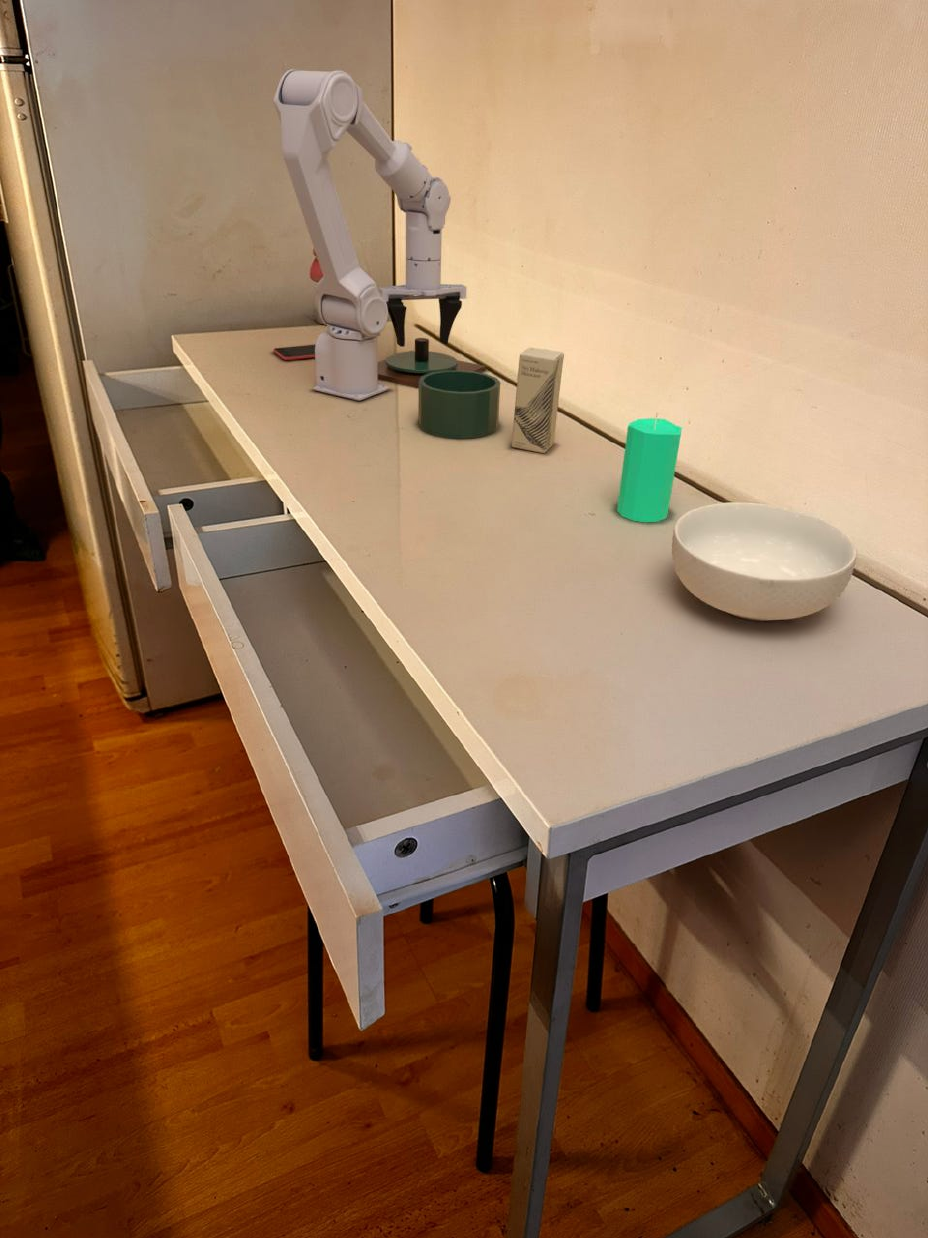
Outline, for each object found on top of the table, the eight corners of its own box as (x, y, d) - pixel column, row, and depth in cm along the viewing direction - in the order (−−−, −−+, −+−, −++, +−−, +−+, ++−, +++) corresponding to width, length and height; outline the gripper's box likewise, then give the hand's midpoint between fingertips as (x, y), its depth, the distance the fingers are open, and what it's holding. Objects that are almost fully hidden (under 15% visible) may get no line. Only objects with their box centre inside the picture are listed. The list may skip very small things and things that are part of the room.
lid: (376, 373, 150) (376, 345, 147) (395, 354, 160) (395, 328, 158) (449, 379, 148) (450, 351, 145) (464, 360, 158) (464, 334, 156)
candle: (637, 525, 102) (652, 423, 96) (606, 506, 107) (619, 407, 101) (678, 517, 105) (695, 417, 99) (647, 498, 109) (661, 401, 103)
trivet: (356, 373, 152) (356, 369, 151) (410, 355, 163) (410, 350, 163) (435, 391, 145) (435, 386, 144) (486, 370, 156) (486, 365, 156)
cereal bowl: (694, 548, 98) (705, 487, 94) (853, 589, 91) (872, 525, 87) (638, 613, 85) (648, 546, 82) (818, 667, 78) (838, 596, 75)
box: (510, 448, 123) (516, 353, 116) (520, 438, 127) (527, 345, 120) (547, 454, 121) (555, 358, 115) (556, 444, 125) (565, 351, 118)
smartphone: (358, 350, 162) (284, 357, 156) (358, 353, 163) (284, 361, 157) (343, 341, 168) (271, 348, 161) (343, 344, 168) (271, 351, 162)
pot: (403, 427, 129) (403, 382, 125) (446, 408, 137) (447, 365, 134) (470, 444, 124) (472, 398, 120) (511, 423, 132) (514, 379, 129)
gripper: (387, 263, 139) (388, 352, 146) (474, 261, 144) (471, 347, 151) (374, 256, 145) (376, 341, 152) (458, 254, 149) (456, 337, 156)
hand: (422, 343), depth 152 cm, fingers open, 7 cm apart
